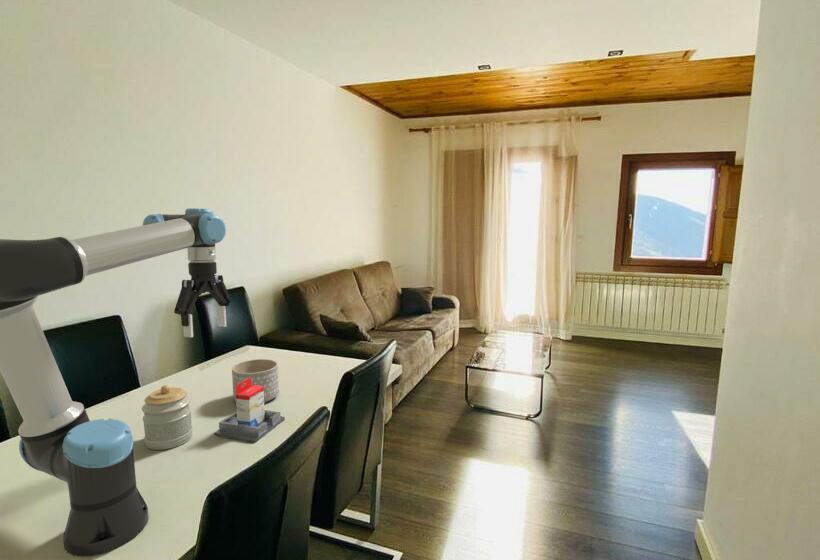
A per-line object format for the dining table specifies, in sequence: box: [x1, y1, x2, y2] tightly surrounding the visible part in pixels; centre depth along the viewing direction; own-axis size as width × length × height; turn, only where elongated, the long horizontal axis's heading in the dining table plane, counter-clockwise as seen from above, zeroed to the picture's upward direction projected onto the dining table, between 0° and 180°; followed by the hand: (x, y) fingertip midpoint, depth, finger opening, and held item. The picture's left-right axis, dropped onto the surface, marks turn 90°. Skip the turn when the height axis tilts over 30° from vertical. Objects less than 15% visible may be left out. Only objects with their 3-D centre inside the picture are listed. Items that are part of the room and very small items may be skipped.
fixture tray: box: [213, 409, 286, 444], centre depth 140 cm, size 16×15×4 cm
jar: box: [141, 384, 194, 451], centre depth 131 cm, size 13×13×18 cm
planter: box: [231, 358, 280, 404], centre depth 163 cm, size 16×16×13 cm
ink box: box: [235, 377, 266, 426], centre depth 139 cm, size 8×5×15 cm, turn 167°
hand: (206, 331), depth 129 cm, fingers open, 13 cm apart
